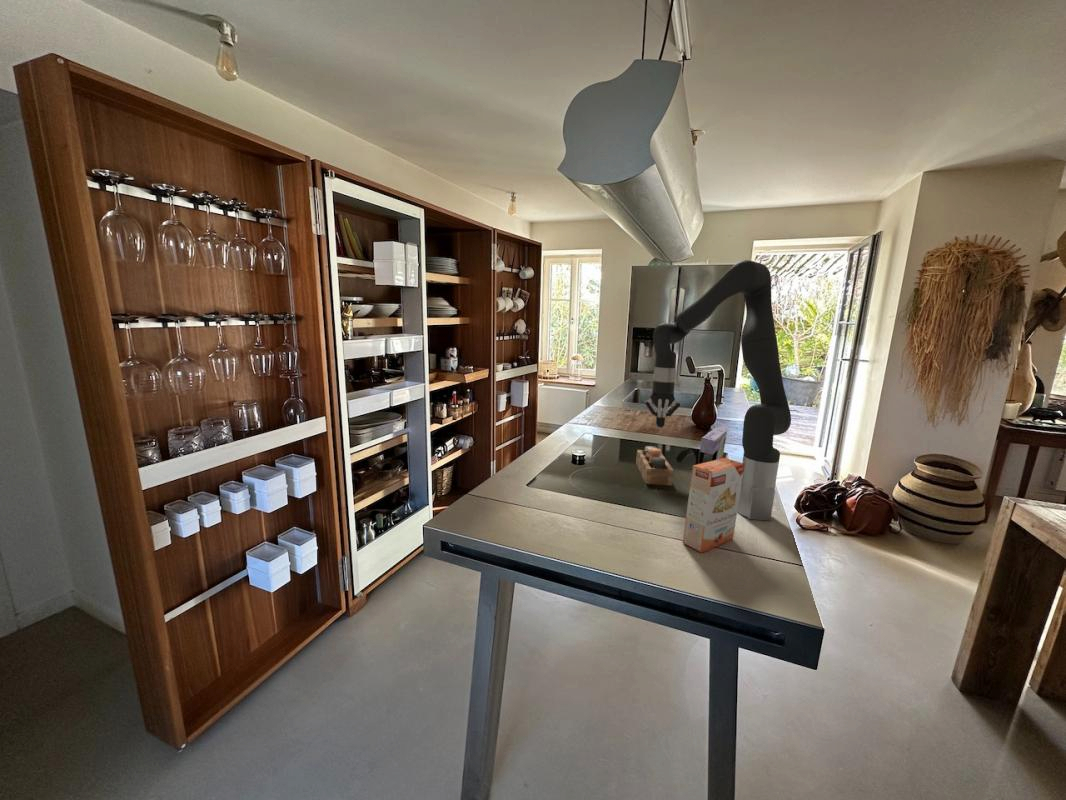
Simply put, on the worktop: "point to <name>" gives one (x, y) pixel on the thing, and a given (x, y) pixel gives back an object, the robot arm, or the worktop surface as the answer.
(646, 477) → the light wood long tray
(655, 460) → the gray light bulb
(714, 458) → the cake pan box
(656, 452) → the terracotta plug
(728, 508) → the cracker box
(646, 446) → the steel plug
